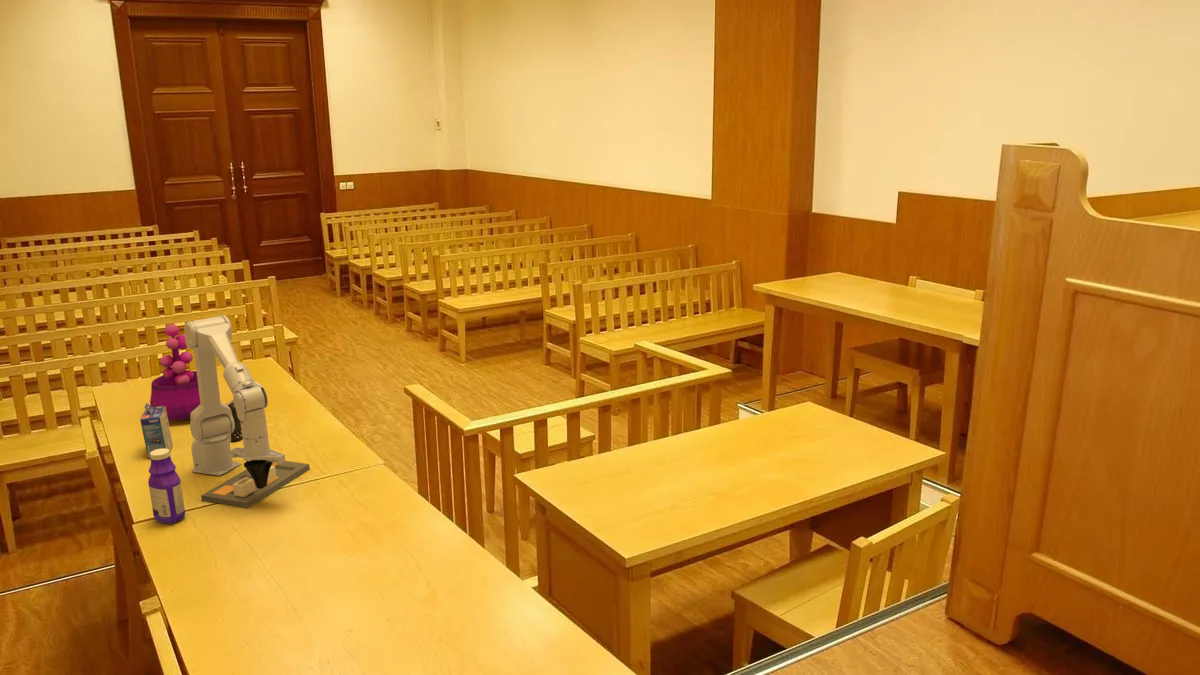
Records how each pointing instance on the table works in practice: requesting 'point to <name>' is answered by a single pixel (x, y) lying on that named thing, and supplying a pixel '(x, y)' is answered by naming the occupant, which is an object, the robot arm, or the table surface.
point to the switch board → (226, 492)
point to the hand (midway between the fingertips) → (262, 486)
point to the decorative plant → (176, 380)
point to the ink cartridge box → (156, 429)
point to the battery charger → (237, 432)
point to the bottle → (165, 488)
